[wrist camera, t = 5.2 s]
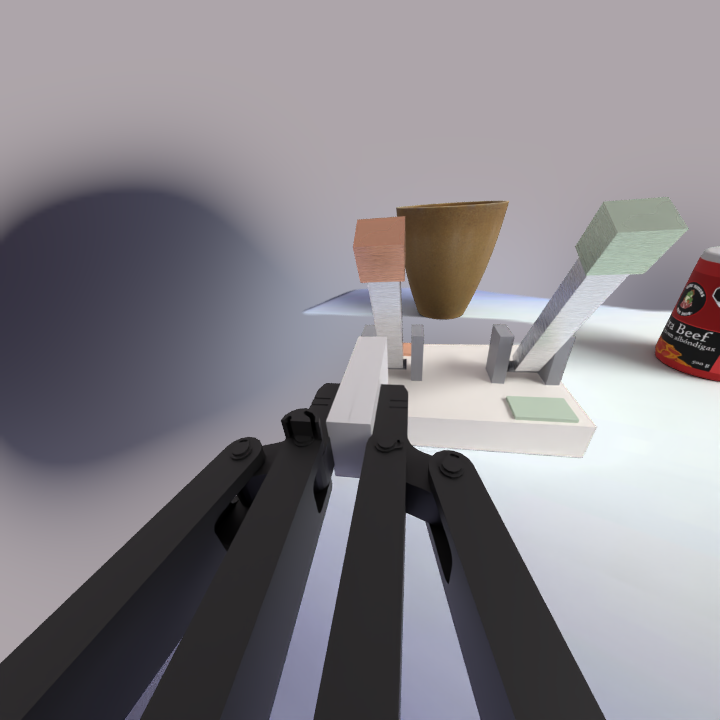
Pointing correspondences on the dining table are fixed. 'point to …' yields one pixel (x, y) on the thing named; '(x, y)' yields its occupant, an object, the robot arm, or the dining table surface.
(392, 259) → the lever
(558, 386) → the console
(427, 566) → the dining table surface
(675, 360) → the canned food
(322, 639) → the dining table surface
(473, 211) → the plant pot
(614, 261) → the lever
